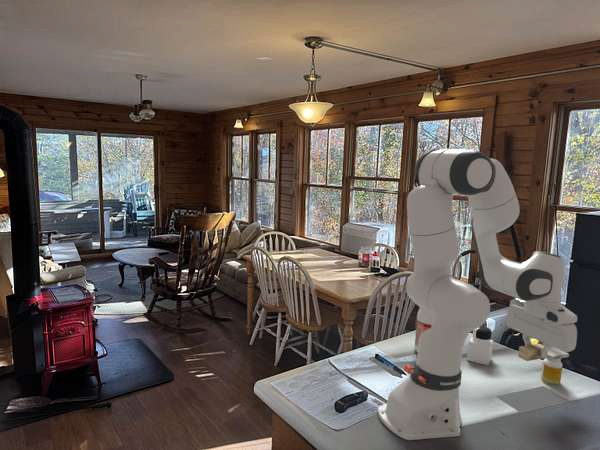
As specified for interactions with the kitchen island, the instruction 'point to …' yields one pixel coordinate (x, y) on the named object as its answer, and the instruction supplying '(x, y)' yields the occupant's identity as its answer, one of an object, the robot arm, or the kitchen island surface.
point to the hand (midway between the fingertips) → (535, 353)
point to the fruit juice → (422, 324)
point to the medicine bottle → (480, 346)
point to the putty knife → (532, 352)
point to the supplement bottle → (551, 371)
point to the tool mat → (532, 399)
